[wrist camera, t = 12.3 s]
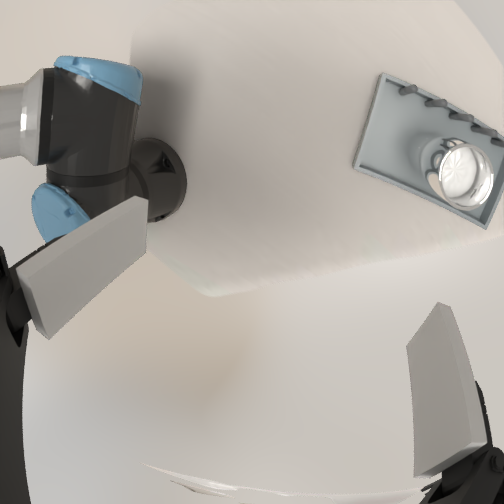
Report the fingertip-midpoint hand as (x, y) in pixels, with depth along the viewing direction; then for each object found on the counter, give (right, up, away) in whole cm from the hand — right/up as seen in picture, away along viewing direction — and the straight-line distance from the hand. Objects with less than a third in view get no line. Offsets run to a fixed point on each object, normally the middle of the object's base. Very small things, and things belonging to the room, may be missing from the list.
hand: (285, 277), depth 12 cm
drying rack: (+25, +15, +22) cm, 37 cm away
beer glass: (+23, +15, +22) cm, 35 cm away
